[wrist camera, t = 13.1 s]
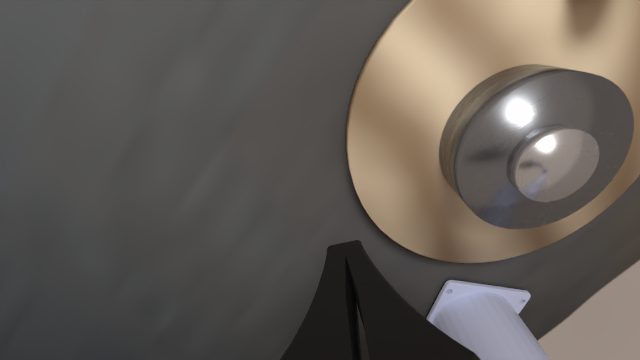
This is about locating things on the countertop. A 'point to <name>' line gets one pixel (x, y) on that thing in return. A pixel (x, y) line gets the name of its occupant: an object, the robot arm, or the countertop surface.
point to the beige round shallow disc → (450, 88)
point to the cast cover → (535, 144)
